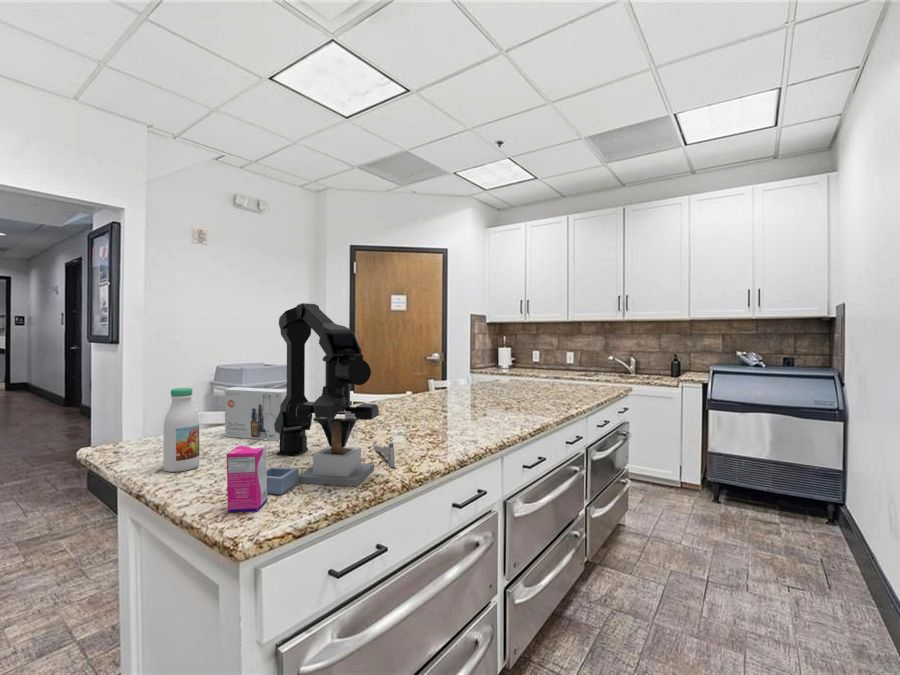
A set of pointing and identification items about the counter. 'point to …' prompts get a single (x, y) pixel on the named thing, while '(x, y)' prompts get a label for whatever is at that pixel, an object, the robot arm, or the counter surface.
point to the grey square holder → (337, 468)
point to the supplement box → (246, 478)
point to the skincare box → (252, 412)
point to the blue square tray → (281, 479)
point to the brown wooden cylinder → (336, 436)
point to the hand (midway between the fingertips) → (337, 446)
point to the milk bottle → (181, 433)
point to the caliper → (387, 453)
